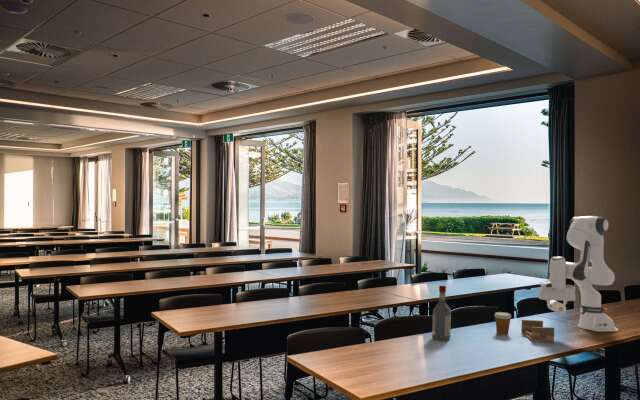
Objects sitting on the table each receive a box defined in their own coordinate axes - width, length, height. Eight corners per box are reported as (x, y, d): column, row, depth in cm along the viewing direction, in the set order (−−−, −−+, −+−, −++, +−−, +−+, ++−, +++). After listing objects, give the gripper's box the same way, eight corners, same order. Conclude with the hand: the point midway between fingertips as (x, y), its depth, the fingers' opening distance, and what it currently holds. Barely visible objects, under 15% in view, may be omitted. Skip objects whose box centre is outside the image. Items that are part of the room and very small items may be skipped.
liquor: (450, 338, 281) (452, 285, 281) (447, 342, 273) (449, 287, 273) (434, 335, 285) (436, 284, 285) (431, 339, 276) (432, 286, 277)
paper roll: (546, 308, 296) (548, 298, 295) (556, 310, 295) (558, 301, 295) (554, 312, 283) (557, 302, 283) (565, 315, 283) (567, 305, 282)
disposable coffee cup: (512, 336, 288) (512, 315, 288) (495, 335, 290) (495, 314, 290) (509, 332, 297) (509, 312, 297) (492, 331, 299) (493, 311, 299)
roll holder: (520, 332, 297) (521, 319, 297) (541, 333, 296) (541, 320, 296) (532, 342, 277) (533, 327, 277) (554, 343, 276) (555, 328, 276)
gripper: (573, 284, 292) (572, 307, 291) (537, 282, 293) (536, 305, 293) (577, 285, 285) (577, 309, 285) (541, 284, 287) (540, 308, 287)
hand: (556, 307), depth 289 cm, fingers closed on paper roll, 6 cm apart
